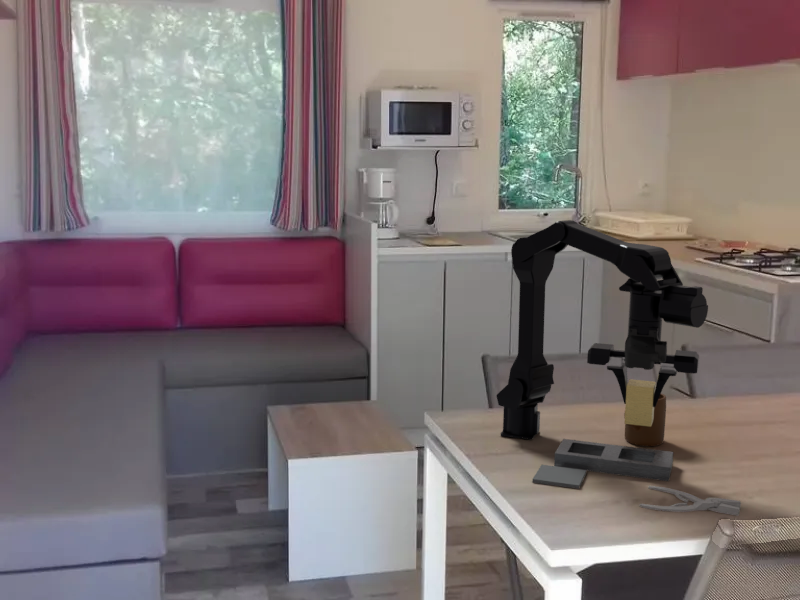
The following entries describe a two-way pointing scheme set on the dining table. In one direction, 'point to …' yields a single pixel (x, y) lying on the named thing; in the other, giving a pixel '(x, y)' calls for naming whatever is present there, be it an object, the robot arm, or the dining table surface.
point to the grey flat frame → (614, 459)
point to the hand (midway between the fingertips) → (640, 405)
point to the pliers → (696, 503)
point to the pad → (559, 476)
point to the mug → (647, 433)
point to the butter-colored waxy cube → (639, 402)
